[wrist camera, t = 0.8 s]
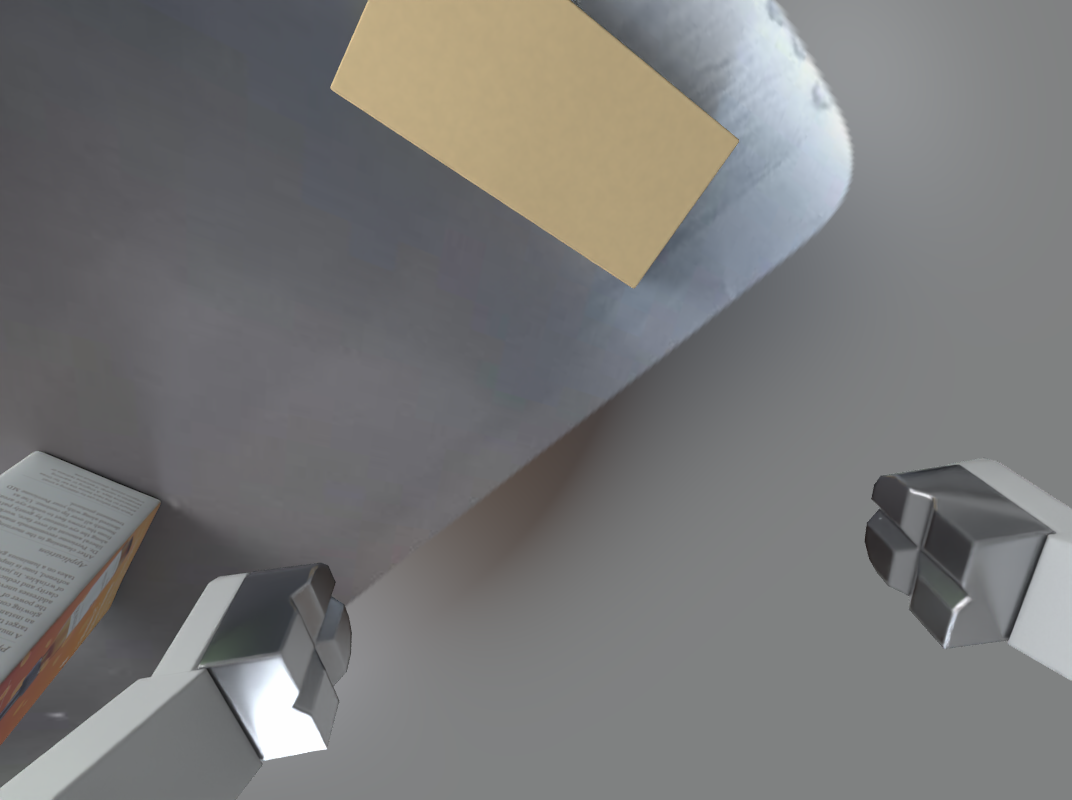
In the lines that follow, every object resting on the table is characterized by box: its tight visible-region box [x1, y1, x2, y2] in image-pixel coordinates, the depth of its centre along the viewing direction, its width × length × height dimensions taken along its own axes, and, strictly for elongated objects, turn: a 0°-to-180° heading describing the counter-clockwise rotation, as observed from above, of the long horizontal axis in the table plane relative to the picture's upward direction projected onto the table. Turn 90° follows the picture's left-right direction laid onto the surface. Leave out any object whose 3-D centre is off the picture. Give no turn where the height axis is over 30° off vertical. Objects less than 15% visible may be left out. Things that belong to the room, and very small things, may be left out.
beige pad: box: [331, 0, 739, 288], centre depth 19 cm, size 6×12×3 cm, turn 57°
